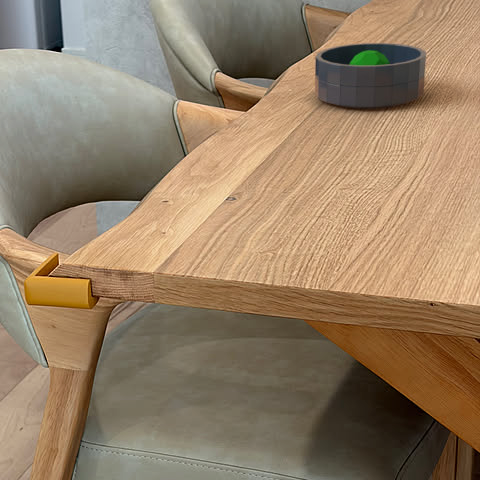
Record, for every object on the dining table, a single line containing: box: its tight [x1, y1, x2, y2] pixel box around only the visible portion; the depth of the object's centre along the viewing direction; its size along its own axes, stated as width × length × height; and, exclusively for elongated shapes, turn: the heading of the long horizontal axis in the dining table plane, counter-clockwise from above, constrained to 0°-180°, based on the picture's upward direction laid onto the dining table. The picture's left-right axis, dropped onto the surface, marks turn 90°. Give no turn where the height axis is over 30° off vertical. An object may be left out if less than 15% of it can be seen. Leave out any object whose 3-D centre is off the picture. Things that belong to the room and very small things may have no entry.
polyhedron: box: [349, 50, 390, 66], centre depth 106 cm, size 5×5×5 cm
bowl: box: [314, 42, 427, 110], centre depth 106 cm, size 12×12×5 cm
